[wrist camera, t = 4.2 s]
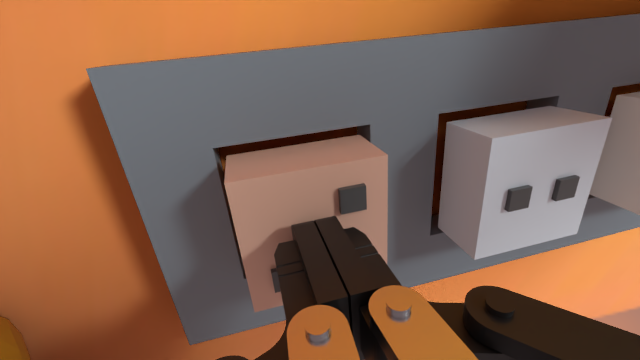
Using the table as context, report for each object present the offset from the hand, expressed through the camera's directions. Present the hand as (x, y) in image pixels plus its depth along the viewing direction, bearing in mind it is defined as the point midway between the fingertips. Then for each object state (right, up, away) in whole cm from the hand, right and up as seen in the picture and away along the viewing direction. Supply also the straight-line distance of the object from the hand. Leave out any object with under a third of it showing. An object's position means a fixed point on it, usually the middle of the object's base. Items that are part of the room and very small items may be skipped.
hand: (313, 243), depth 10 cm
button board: (+8, +3, +5) cm, 10 cm away
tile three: (0, +1, +2) cm, 3 cm away
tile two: (+8, +3, +4) cm, 10 cm away
